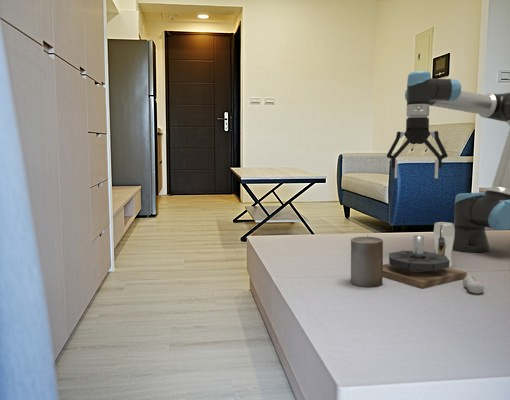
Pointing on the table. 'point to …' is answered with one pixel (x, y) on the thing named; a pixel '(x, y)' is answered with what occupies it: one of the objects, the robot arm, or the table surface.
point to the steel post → (418, 247)
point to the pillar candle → (366, 261)
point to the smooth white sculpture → (473, 284)
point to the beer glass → (444, 239)
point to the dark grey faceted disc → (418, 261)
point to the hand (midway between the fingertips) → (415, 178)
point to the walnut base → (422, 276)
